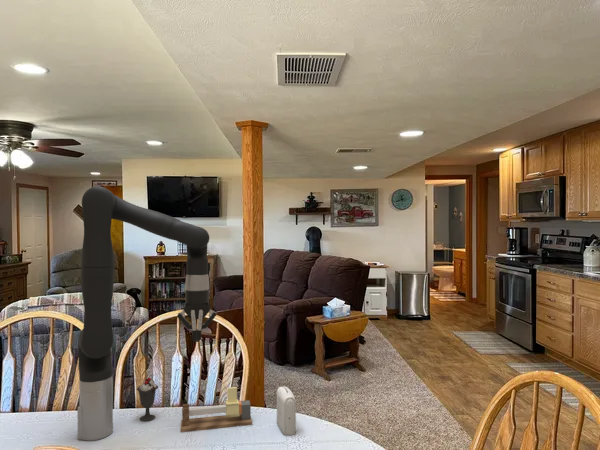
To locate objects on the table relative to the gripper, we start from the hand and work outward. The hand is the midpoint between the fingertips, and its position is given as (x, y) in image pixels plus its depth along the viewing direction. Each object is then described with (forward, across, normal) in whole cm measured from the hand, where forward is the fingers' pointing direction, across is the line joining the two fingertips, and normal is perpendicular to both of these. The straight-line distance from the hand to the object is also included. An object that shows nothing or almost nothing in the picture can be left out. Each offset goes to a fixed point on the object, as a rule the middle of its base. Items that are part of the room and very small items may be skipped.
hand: (196, 341), depth 145 cm
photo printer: (+26, +28, -12) cm, 39 cm away
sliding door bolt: (+25, +7, -4) cm, 26 cm away
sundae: (+26, -16, +5) cm, 31 cm away
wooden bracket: (+26, +6, -4) cm, 27 cm away
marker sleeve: (+23, +11, -4) cm, 26 cm away
